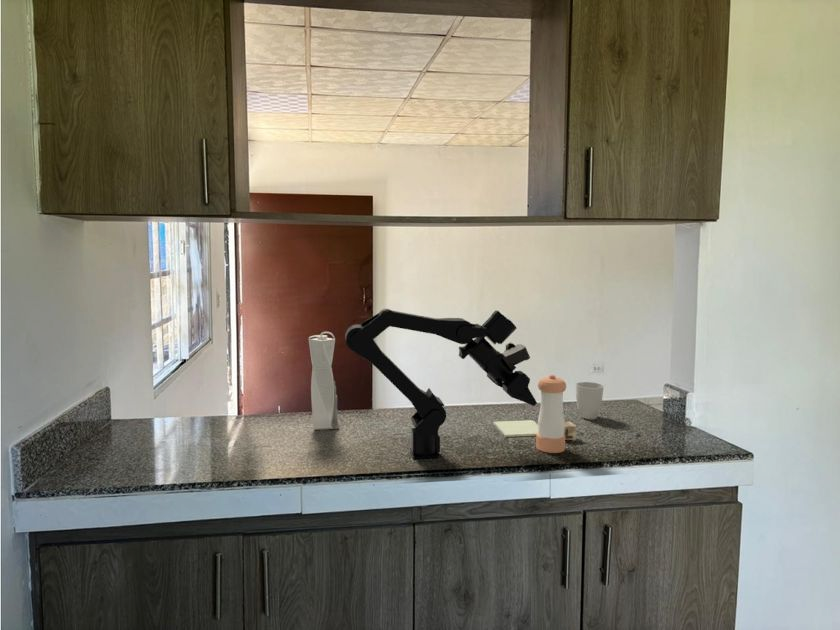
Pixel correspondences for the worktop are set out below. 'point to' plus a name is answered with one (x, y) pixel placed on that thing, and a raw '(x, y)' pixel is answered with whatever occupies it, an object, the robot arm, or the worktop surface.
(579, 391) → the cup
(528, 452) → the worktop surface
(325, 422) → the skyscraper
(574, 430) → the letter cube
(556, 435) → the pepper shaker
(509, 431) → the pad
